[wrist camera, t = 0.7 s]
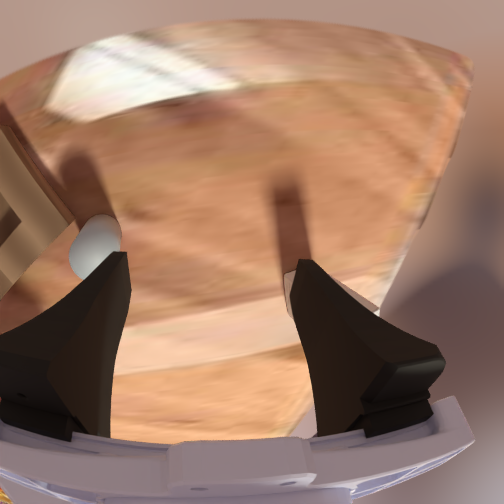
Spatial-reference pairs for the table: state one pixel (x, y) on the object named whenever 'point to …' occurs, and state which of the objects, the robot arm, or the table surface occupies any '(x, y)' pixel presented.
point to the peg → (94, 244)
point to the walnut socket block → (24, 211)
